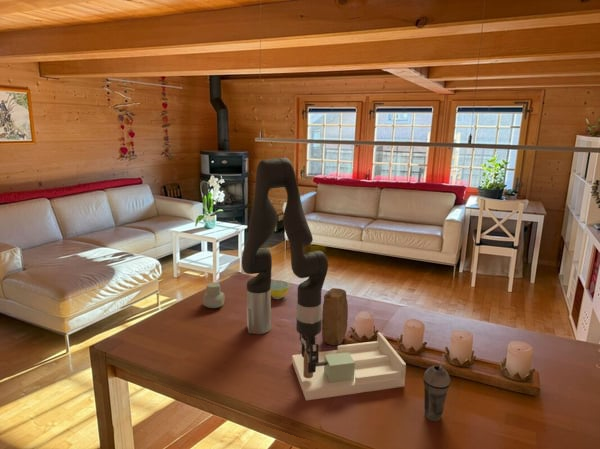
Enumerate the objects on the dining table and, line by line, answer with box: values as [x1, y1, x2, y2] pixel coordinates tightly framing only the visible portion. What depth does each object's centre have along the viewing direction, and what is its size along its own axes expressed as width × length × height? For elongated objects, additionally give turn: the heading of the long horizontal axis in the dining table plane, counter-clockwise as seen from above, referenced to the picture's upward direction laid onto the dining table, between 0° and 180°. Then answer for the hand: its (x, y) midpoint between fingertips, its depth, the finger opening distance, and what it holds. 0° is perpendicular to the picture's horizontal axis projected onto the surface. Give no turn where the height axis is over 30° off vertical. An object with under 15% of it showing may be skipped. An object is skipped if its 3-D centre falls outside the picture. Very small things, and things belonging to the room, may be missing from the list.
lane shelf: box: [291, 332, 407, 401], centre depth 138 cm, size 32×20×8 cm, turn 103°
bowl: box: [271, 279, 290, 300], centre depth 196 cm, size 11×12×6 cm
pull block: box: [303, 350, 355, 383], centre depth 131 cm, size 16×6×10 cm, turn 103°
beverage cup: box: [422, 352, 451, 422], centre depth 118 cm, size 7×7×20 cm
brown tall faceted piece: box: [321, 287, 349, 346], centre depth 158 cm, size 11×8×20 cm
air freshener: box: [202, 281, 226, 309], centre depth 186 cm, size 11×8×10 cm
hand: (308, 364), depth 129 cm, fingers open, 8 cm apart
